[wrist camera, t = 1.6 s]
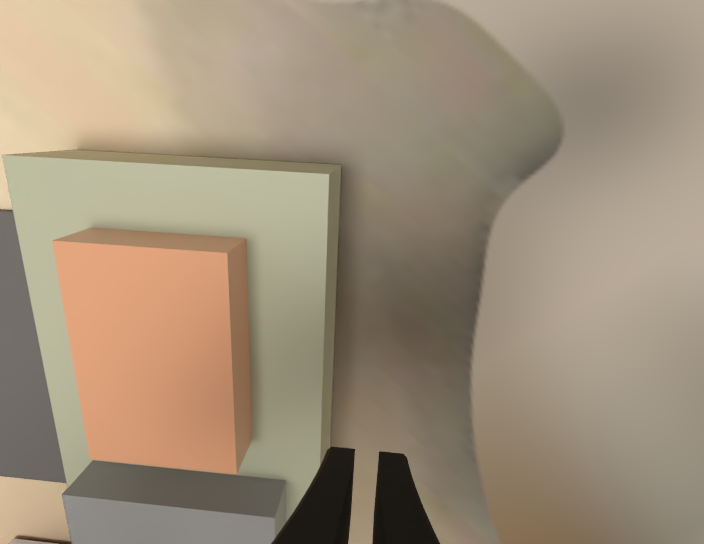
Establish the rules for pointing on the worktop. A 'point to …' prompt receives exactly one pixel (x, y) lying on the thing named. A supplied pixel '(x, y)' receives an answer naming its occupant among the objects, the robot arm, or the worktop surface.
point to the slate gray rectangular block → (172, 506)
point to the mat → (22, 375)
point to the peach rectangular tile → (159, 345)
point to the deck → (210, 220)
